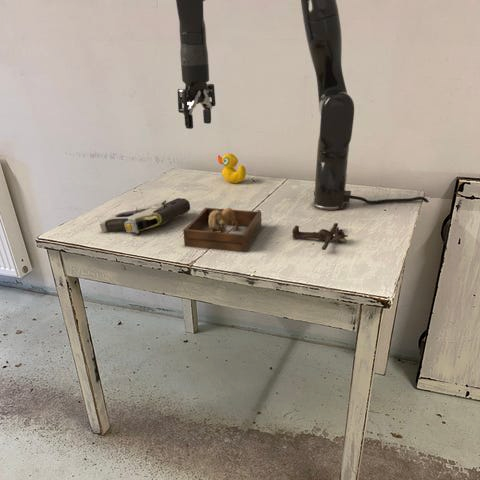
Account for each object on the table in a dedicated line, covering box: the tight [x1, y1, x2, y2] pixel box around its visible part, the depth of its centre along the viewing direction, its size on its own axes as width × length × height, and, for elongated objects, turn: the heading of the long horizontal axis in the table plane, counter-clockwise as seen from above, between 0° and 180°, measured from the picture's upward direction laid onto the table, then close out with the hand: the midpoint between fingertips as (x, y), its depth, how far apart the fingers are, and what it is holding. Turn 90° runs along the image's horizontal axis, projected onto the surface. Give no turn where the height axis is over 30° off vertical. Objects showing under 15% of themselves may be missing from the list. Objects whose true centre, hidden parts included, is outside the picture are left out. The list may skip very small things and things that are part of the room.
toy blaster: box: [99, 197, 191, 234], centre depth 142 cm, size 6×25×15 cm
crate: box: [182, 207, 263, 253], centre depth 133 cm, size 17×18×4 cm
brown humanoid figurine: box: [291, 222, 349, 251], centre depth 129 cm, size 18×4×14 cm
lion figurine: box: [208, 207, 239, 233], centre depth 132 cm, size 15×5×9 cm, turn 162°
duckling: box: [217, 153, 247, 184], centre depth 174 cm, size 11×5×10 cm, turn 59°
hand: (198, 125), depth 140 cm, fingers open, 8 cm apart
